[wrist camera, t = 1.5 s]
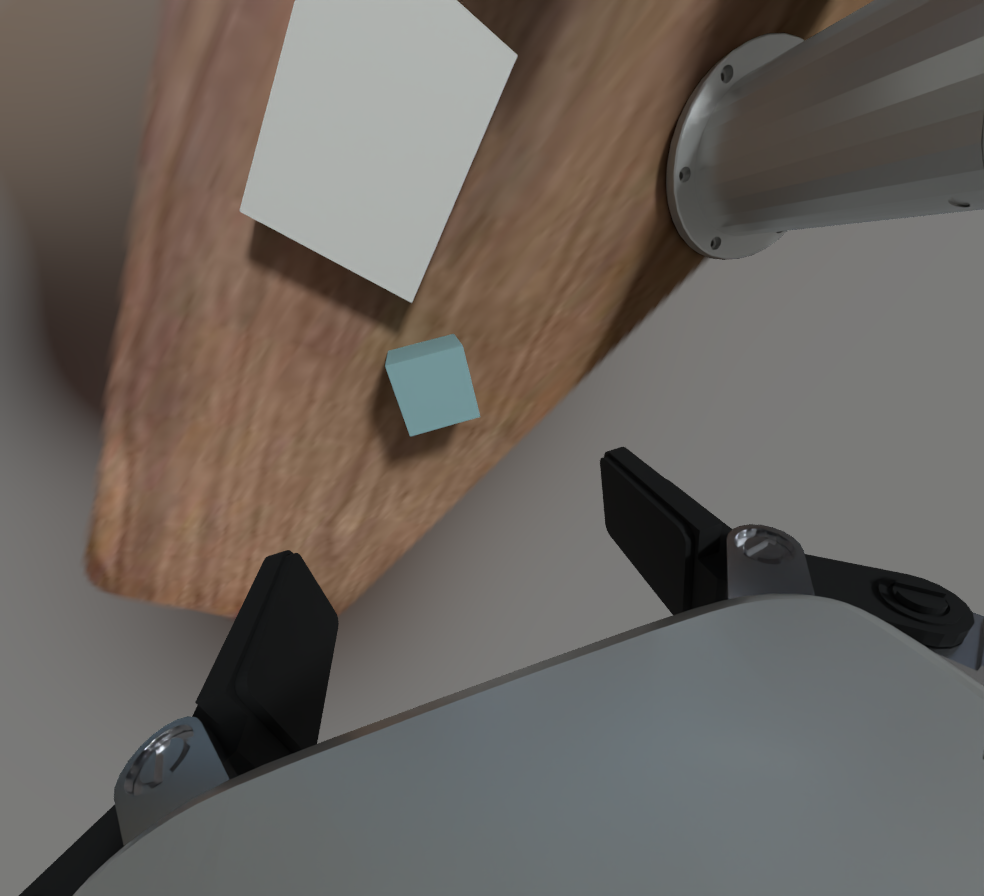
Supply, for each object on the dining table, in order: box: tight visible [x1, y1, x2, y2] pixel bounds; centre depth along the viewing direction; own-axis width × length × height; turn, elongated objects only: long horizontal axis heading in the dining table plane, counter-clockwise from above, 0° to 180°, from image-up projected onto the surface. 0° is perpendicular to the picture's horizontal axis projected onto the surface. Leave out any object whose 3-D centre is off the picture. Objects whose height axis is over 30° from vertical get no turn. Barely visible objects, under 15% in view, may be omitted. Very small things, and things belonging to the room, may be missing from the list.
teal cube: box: [385, 334, 480, 437], centre depth 26 cm, size 5×5×5 cm
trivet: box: [240, 0, 518, 303], centre depth 21 cm, size 14×10×2 cm
